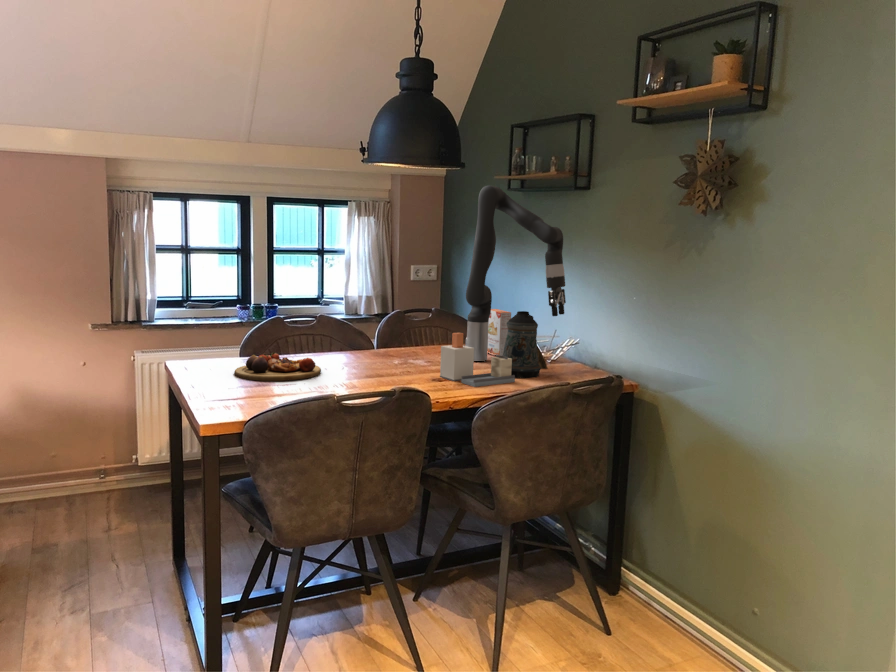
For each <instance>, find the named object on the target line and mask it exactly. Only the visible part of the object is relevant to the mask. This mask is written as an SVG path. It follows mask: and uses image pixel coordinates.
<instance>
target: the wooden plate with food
mask: <svg viewBox="0 0 896 672" xmlns="http://www.w3.org/2000/svg"><path fill="white" fill-rule="evenodd" d="M321 372H322V369H321V367H320V366H318V365H316V362H315V361H314V360H313V359H312V358H310V357H305V358H302V359H297V360H293V359H289V358H288V357H287V356H286V357H282V358H280V355H279V353H277V352H275V351H273V352H272V353H270V354H266V353H264V354H259V355H258V356H257V355H255V354H252V355H251V356H249V357H248V359H246V361H245V365H242V366H239V367H237V368H236V369H234V375H235V377H237V378H240V379H242V380H243V379H244V380H248V381H249V380H252V381H257V382H258V381H261V382H262V381H263V382H280V381H297V380H304V379H309V378H313V377H316V376H319V375H320V374H321Z"/></svg>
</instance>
